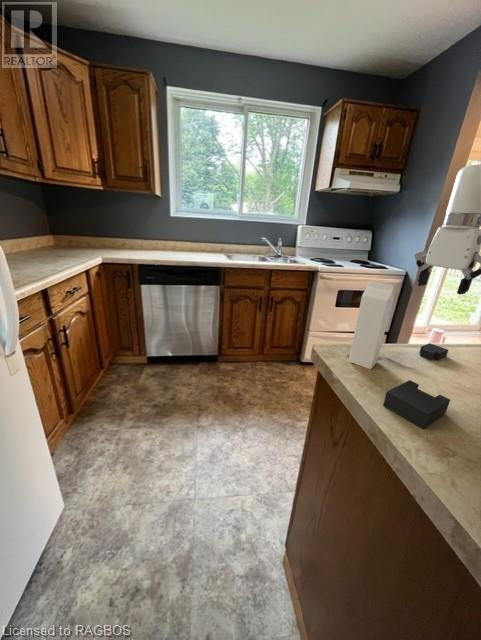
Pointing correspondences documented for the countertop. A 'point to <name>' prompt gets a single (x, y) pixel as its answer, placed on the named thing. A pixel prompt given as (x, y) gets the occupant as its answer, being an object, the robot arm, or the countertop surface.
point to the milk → (371, 324)
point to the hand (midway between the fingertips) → (440, 289)
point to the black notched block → (415, 404)
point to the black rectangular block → (433, 352)
